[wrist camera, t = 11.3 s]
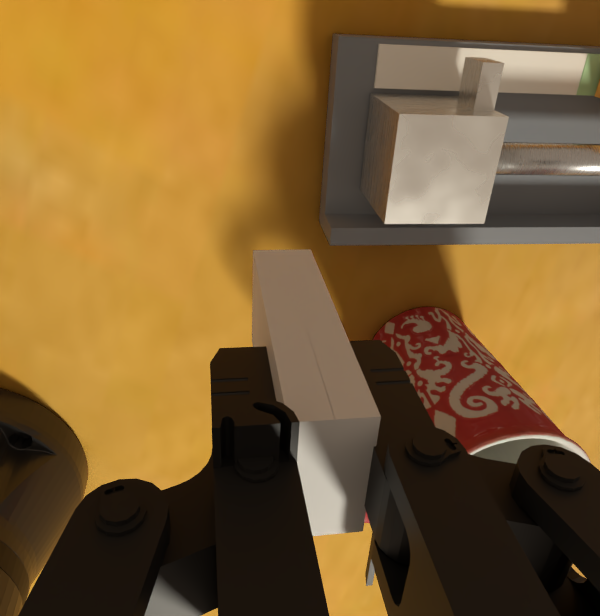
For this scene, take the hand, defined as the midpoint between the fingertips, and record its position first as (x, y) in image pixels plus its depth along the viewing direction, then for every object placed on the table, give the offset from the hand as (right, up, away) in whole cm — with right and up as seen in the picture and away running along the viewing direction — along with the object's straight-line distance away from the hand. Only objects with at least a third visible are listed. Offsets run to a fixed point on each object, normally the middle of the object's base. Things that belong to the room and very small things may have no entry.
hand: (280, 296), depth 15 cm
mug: (+7, -4, +24) cm, 25 cm away
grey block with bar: (+14, +9, +15) cm, 23 cm away
